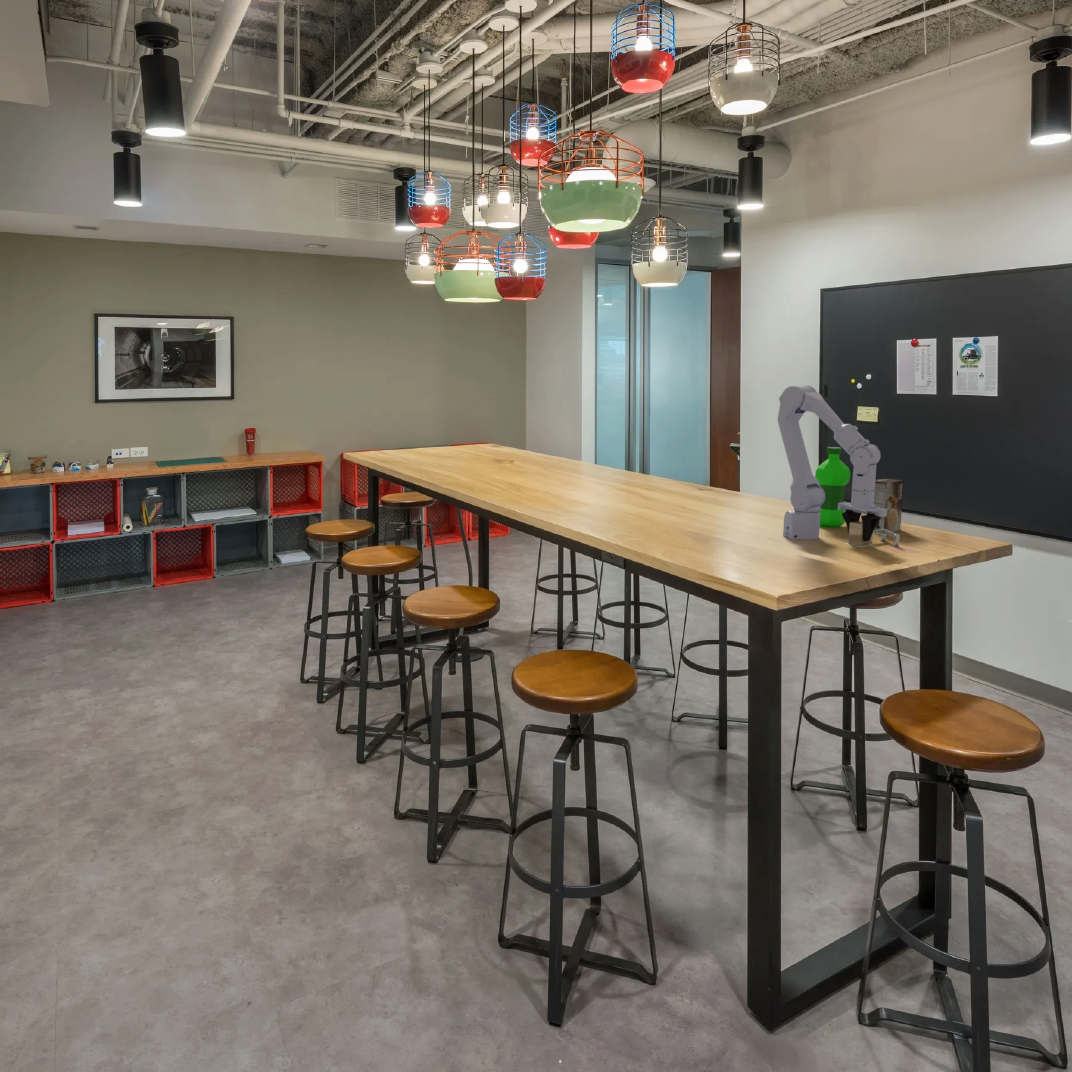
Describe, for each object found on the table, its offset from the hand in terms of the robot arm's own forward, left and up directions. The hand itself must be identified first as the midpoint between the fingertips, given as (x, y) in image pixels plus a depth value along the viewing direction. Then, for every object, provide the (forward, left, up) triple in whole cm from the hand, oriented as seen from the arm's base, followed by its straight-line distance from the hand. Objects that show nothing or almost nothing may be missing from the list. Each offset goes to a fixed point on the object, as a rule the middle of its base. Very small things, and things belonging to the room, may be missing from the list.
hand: (859, 539), depth 223 cm
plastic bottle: (+6, +31, -3) cm, 32 cm away
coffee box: (+18, +21, -3) cm, 28 cm away
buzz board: (+4, -2, -3) cm, 5 cm away
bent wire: (+6, 0, -2) cm, 6 cm away
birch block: (0, 0, -1) cm, 1 cm away
